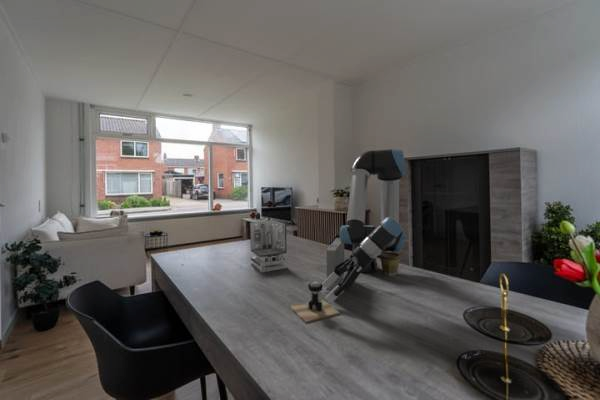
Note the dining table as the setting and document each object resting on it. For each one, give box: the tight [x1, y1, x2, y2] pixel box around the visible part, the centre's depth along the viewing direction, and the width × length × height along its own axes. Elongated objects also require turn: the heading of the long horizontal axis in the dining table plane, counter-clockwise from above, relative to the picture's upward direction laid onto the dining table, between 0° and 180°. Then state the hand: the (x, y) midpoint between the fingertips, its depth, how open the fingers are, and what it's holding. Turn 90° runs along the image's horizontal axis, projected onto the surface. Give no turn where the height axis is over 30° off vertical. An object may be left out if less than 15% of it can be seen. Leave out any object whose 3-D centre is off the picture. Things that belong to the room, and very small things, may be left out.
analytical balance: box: [249, 220, 288, 273], centre depth 156 cm, size 16×19×25 cm
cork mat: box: [288, 297, 341, 324], centre depth 103 cm, size 14×14×1 cm
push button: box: [306, 280, 323, 311], centre depth 103 cm, size 7×5×10 cm
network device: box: [323, 237, 345, 295], centre depth 126 cm, size 26×9×20 cm, turn 163°
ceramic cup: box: [379, 251, 401, 277], centre depth 144 cm, size 13×10×10 cm
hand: (326, 292), depth 103 cm, fingers open, 13 cm apart
